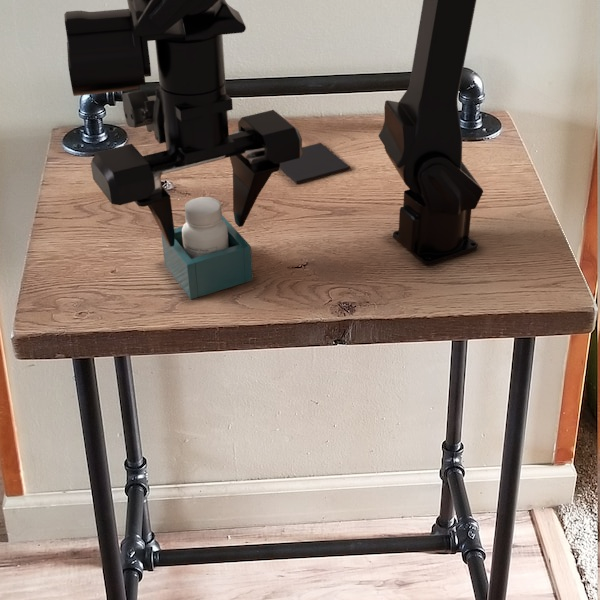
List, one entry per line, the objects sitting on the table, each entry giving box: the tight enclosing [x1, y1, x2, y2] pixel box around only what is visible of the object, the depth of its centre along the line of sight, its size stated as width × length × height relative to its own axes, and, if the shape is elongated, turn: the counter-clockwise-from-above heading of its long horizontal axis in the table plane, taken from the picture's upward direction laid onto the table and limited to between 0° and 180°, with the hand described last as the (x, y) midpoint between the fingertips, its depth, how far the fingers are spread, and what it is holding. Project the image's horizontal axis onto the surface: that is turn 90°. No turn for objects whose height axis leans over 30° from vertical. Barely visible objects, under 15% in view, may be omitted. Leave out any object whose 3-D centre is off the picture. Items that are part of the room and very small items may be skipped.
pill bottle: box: [181, 196, 229, 259], centre depth 95 cm, size 4×4×8 cm
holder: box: [160, 214, 254, 300], centre depth 96 cm, size 7×7×4 cm
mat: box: [280, 142, 351, 185], centre depth 115 cm, size 7×7×1 cm
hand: (205, 234), depth 95 cm, fingers open, 7 cm apart
